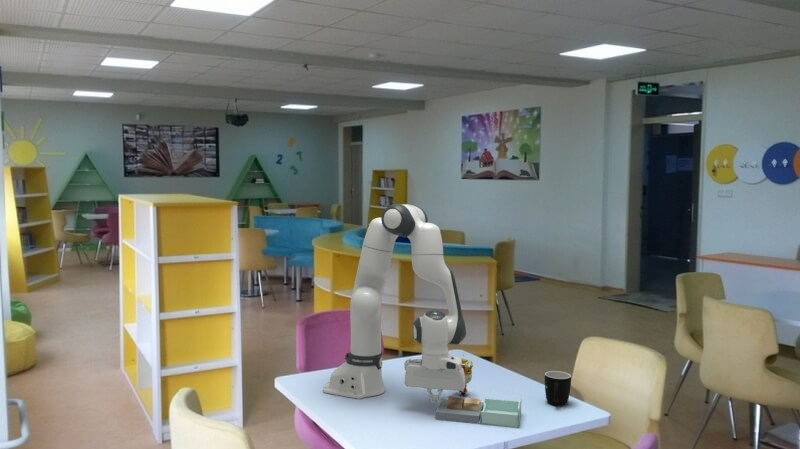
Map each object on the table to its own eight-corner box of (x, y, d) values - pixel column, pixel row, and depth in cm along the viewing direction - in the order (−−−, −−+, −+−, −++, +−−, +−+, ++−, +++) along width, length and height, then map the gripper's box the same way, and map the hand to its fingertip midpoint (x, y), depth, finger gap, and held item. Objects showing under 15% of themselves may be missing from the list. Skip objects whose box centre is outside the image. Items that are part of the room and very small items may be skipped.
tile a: (463, 410, 211) (463, 402, 211) (465, 404, 216) (465, 397, 215) (478, 411, 210) (479, 404, 209) (480, 406, 214) (480, 399, 214)
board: (435, 419, 209) (435, 411, 209) (442, 405, 222) (442, 398, 221) (478, 423, 206) (479, 416, 206) (483, 409, 218) (483, 402, 218)
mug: (545, 397, 231) (545, 369, 231) (571, 400, 229) (571, 372, 228) (541, 408, 220) (542, 379, 219) (568, 412, 217) (569, 382, 216)
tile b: (446, 408, 212) (447, 401, 212) (449, 403, 217) (449, 396, 217) (462, 409, 211) (462, 402, 211) (464, 404, 216) (464, 397, 215)
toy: (471, 399, 229) (472, 357, 228) (451, 397, 230) (452, 356, 229) (473, 392, 236) (474, 352, 235) (453, 391, 237) (454, 350, 236)
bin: (480, 423, 206) (480, 405, 205) (484, 409, 218) (485, 392, 218) (518, 427, 203) (519, 409, 202) (521, 413, 215) (521, 395, 215)
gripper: (402, 360, 214) (402, 401, 215) (463, 365, 209) (463, 406, 210) (406, 355, 220) (406, 395, 221) (466, 359, 216) (465, 400, 217)
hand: (434, 401), depth 216 cm, fingers closed
